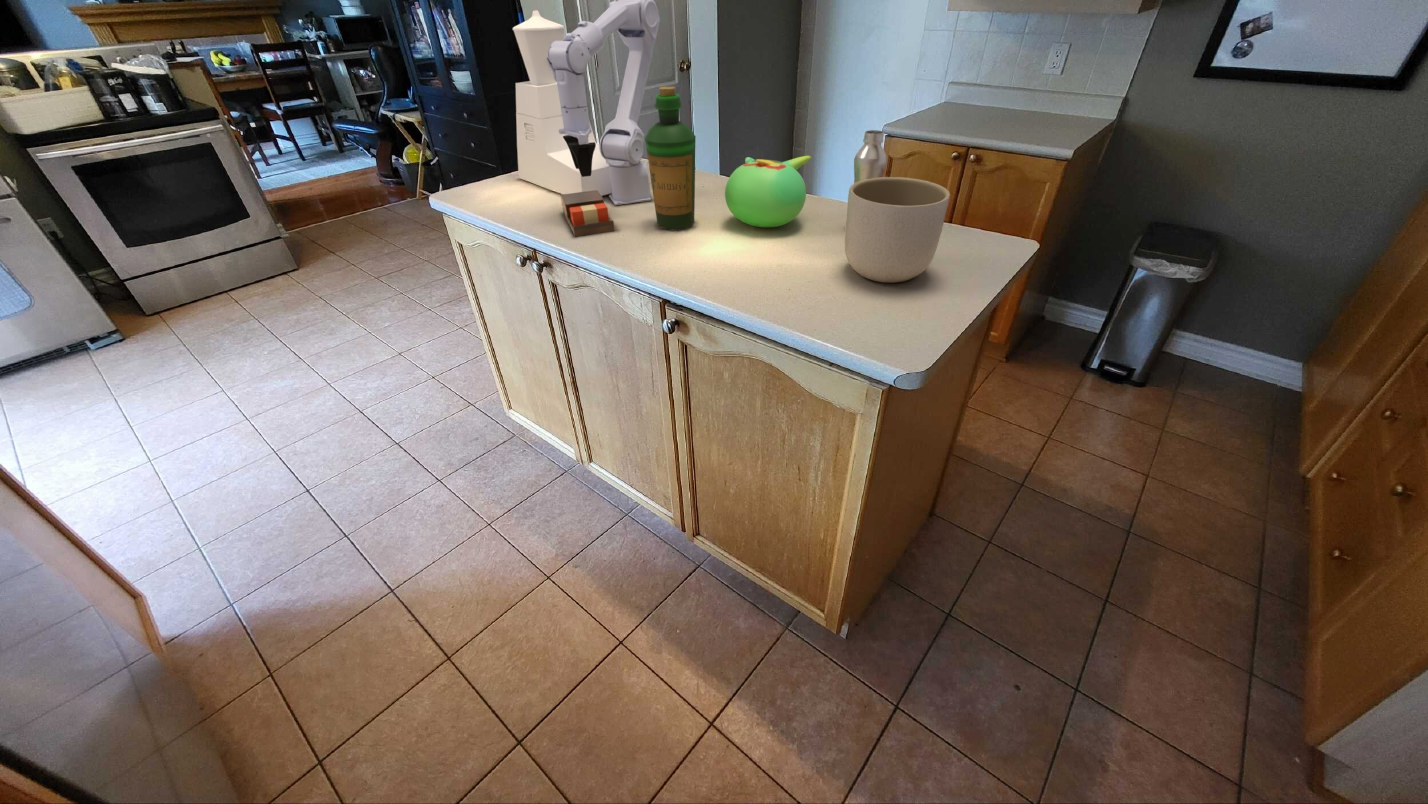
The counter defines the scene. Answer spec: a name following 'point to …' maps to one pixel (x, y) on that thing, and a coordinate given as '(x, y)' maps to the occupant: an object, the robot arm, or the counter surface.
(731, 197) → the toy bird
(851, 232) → the planter
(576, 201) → the step shelf
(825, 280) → the counter surface
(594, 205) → the candy bar
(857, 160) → the silver metal bottle
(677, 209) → the bottle
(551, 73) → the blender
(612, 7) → the robot arm
